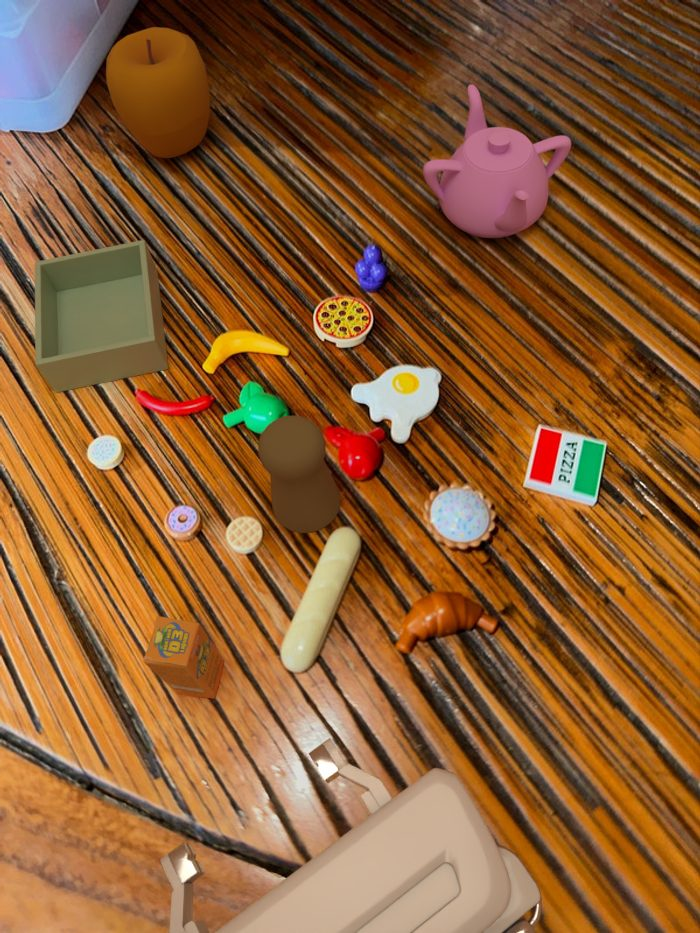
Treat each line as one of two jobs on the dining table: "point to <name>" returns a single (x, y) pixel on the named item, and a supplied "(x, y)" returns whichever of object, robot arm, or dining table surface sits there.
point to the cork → (298, 474)
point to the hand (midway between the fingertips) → (249, 797)
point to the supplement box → (184, 657)
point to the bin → (98, 317)
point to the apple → (160, 90)
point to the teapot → (494, 177)
